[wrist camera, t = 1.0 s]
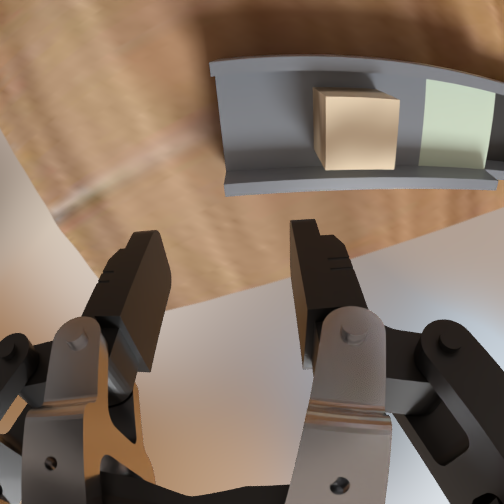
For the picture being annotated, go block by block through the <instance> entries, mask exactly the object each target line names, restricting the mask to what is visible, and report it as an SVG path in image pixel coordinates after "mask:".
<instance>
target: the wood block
mask: <svg viewBox="0 0 504 504" xmlns="http://www.w3.org/2000/svg"><path fill="white" fill-rule="evenodd" d="M399 108H400V100H399V99H397V98H395V97H393V96H390V95H388V94H386V93H384V92H382V91H379V90H377V89H367V88H345V87H313V129H314V150H315V152H316V154H317V156H318V158H319V159H320V161H321V163H322V165H323V167H324V169H325V170H374V169H384V170H394V167H395V158H396V148H397V136H398V124H399Z"/></svg>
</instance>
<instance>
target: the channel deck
mask: <svg viewBox="0 0 504 504" xmlns="http://www.w3.org/2000/svg"><path fill="white" fill-rule="evenodd" d="M209 66H210V74H211V77H212V76H215V80H216V89H217V98H218V107H219V115H220V124H221V132H222V141H223V149H224V157H225V166H226V176H225V181H224V189H225V196H226V197H228V196H241V195H254V194H269V193H286V192H305V191H328V190H359V189H473V190H496V188H497V184H498V180H504V82H502V81H498V80H495V79H491V78H488V77H484V76H480V75H476V74H472V73H468V72H464V71H459V70H455V69H450V68H445V67H440V66H435V65H429V64H423V63H417V62H410V61H403V60H395V59H387V58H377V57H366V56H351V55H330V54H282V55H260V56H246V57H234V58H224V59H217V60H214V61H212V62H209ZM313 87H345V88H367V89H377V90H379V91H382V92H384V93H386V94H388V95H390V96H393V97H395V98H397V99H399V100H400V108H399V124H398V136H397V148H396V158H395V167H394V170H384V169H374V170H325V169H324V167H323V165H322V163H321V161H320V159H319V158H318V156H317V154H316V152H315V150H314V129H313ZM497 179H498V180H497Z"/></svg>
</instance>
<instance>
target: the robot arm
mask: <svg viewBox="0 0 504 504" xmlns="http://www.w3.org/2000/svg"><path fill="white" fill-rule="evenodd" d="M290 270H291V281H292V289H293V296H294V303H295V310H296V318H297V326H298V333H299V340H300V349H301V356H302V365H303V369H313V376H314V379H313V385H312V390H311V395H310V400H309V405H308V409H307V413H306V418H305V422H304V427H303V432H302V436H301V441H300V445H299V449H298V454H297V458H296V462H295V467H294V471H293V475H292V479H291V483H290V485H274V486H245V487H241V488H236V489H232V490H227V491H222V492H217V493H212V494H206V495H200V496H193V497H192V496H186V495H183V494H180V493H177V492H174V491H171V490H168V489H166V488H163V487H161V486H158V485H156V481H155V475H154V470H153V467H152V464H151V461H150V459H149V457H148V455H147V454H146V451H145V448H144V443H143V433H142V424H141V413H140V402H139V390H138V386H137V384H136V383H135V379H136V375H137V372H151V368H152V363H153V358H154V354H155V350H156V345H157V341H158V337H159V333H160V328H161V325H162V321H163V317H164V313H165V309H166V305H167V301H168V297H169V293H170V289H171V271H170V267H169V264H168V260H167V257H166V253H165V250H164V246H163V243H162V239H161V236H160V233H159V232H158V231H157V230H151V231H140V232H134V233H133V234H132V236H131V238H130V240H129V242H128V244H127V246H126V248H125V249H119V250H118V251H117V252H116V253H115V254H114V255H113V256H112V257H111V258H110V259H109V260H108V262H107V264H106V266H105V268H104V270H103V274H101V276H100V278H99V280H98V283H97V284H96V287H95V289H94V290H93V293H92V295H91V297H90V299H89V301H88V303H87V305H86V307H85V310H84V312H83V314H82V316H81V317H77V318H74V319H72V320H70V321H68V322H66V323H65V324H64V325H63V326H62V327H60V329H59V330H58V331H57V333H56V334H55V337H54V339H53V341H50V342H46V343H42V344H38V345H34V346H33V345H32V344H31V343H30V341H29V340H28V338H27V337H26V336H25V335H24V334H21V333H15V334H11V335H9V336H7V337H5V338H4V339H3V340H2V341H1V342H0V420H1V419H2V417H3V416H4V414H5V413H6V411H7V410H8V409H9V407H10V406H11V404H12V403H13V401H14V400H15V398H16V397H17V395H19V396H20V397H22V398H23V399H24V400H25V401H26V402H27V403H28V404H27V405H26V407H25V408H24V410H23V411H22V413H21V414H20V416H19V417H18V418H17V420H16V422H15V423H14V425H13V426H12V428H11V429H10V431H9V432H8V433H6V434H0V504H19V503H20V501H21V500H22V504H385V498H386V490H387V482H388V474H389V464H390V451H391V439H392V424H391V418H390V416H389V415H386V413H385V412H389V413H392V414H393V415H394V417H395V418H396V419H397V421H398V423H399V424H400V426H401V427H402V429H403V430H404V432H405V433H406V435H407V437H408V438H409V439H410V441H411V442H412V444H413V446H414V447H415V449H416V450H417V452H418V453H419V455H420V457H421V458H422V460H423V461H424V463H425V464H426V466H427V467H428V469H429V471H430V472H431V474H432V475H433V477H434V478H435V480H436V482H437V483H438V485H439V486H440V488H441V490H442V491H443V493H444V494H445V496H446V497H447V499H448V500H449V502H450V504H504V371H503V370H502V369H501V368H500V366H499V365H498V364H497V363H496V362H495V361H494V359H493V358H492V357H491V356H490V355H489V353H488V352H487V351H486V350H485V349H484V348H483V347H482V346H481V345H480V343H479V342H478V341H477V340H476V339H475V338H474V337H473V336H472V334H471V333H470V332H469V331H468V330H467V329H466V328H465V327H463V326H462V325H461V324H459V323H457V322H454V321H451V320H437V321H433V322H432V323H430V324H428V325H427V326H426V327H425V329H424V330H423V332H422V333H414V332H407V331H401V330H396V329H392V328H389V327H387V326H385V325H384V324H383V322H382V321H381V319H380V318H379V317H378V316H377V315H376V314H375V313H373V312H372V311H369V310H368V307H367V305H366V302H365V299H364V296H363V293H362V291H361V288H360V285H359V282H358V279H357V277H356V274H355V271H354V270H353V266H352V264H351V260H350V259H349V255H348V253H347V250H346V247H345V245H344V244H343V243H342V242H341V241H340V240H339V239H338V238H337V237H335V236H334V235H321V236H320V233H319V230H318V227H317V223H316V220H315V219H306V220H290Z"/></svg>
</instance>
